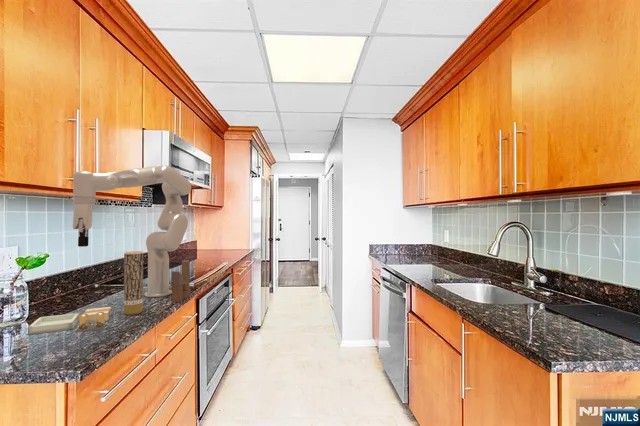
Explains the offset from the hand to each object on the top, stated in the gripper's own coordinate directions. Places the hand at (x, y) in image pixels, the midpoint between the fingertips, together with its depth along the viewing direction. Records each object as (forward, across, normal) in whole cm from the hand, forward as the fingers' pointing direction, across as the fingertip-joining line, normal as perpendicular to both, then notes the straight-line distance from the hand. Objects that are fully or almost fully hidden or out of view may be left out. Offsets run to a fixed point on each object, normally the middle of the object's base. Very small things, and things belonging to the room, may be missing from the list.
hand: (83, 246), depth 134 cm
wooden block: (+27, -7, +38) cm, 47 cm away
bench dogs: (+28, +23, +8) cm, 37 cm away
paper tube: (+27, +8, +19) cm, 34 cm away
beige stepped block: (+28, +11, +7) cm, 31 cm away
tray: (+28, +16, -5) cm, 32 cm away
